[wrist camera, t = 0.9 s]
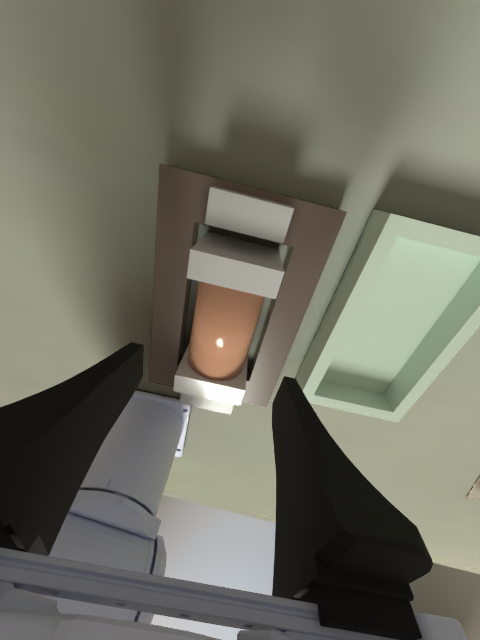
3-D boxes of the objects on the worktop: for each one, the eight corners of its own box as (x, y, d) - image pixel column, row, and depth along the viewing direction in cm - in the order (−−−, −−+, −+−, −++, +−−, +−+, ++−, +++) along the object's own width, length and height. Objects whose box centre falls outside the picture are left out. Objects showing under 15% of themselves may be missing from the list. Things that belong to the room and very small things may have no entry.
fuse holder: (266, 394, 24) (267, 425, 21) (155, 370, 23) (139, 398, 20) (339, 209, 15) (358, 216, 12) (168, 165, 15) (145, 160, 12)
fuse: (244, 361, 22) (240, 405, 18) (190, 349, 22) (173, 391, 18) (278, 249, 17) (284, 272, 13) (208, 232, 17) (190, 249, 12)
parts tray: (385, 400, 23) (397, 422, 21) (294, 380, 23) (297, 400, 21) (504, 243, 16) (542, 252, 14) (373, 209, 15) (391, 213, 13)
